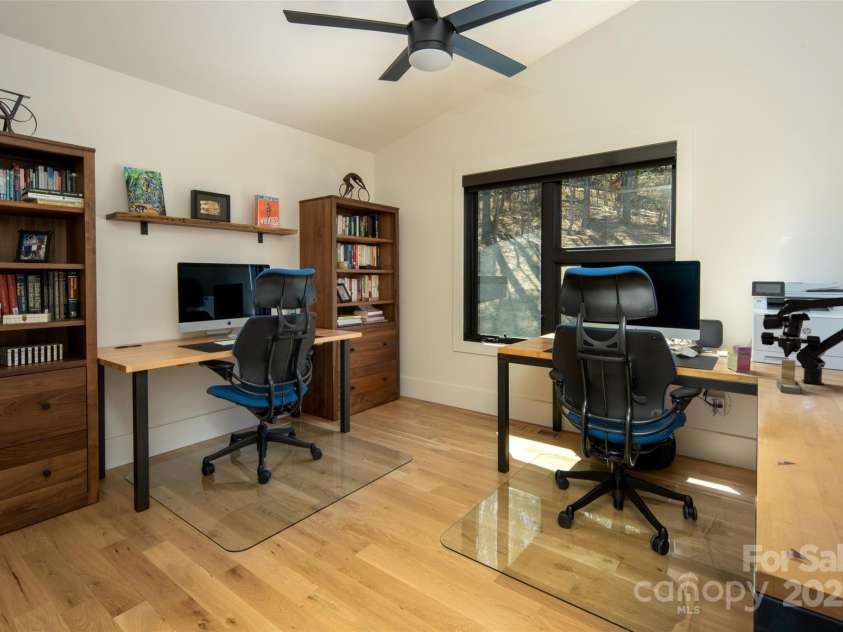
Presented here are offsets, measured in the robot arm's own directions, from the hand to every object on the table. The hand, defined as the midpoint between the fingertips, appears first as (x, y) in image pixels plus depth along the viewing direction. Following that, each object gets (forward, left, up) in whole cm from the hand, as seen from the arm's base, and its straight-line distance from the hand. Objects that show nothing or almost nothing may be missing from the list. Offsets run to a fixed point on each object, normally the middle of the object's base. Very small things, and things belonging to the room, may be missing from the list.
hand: (786, 356), depth 184 cm
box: (-28, -14, -12) cm, 33 cm away
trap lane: (+9, 0, -11) cm, 15 cm away
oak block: (+7, 0, -9) cm, 12 cm away
